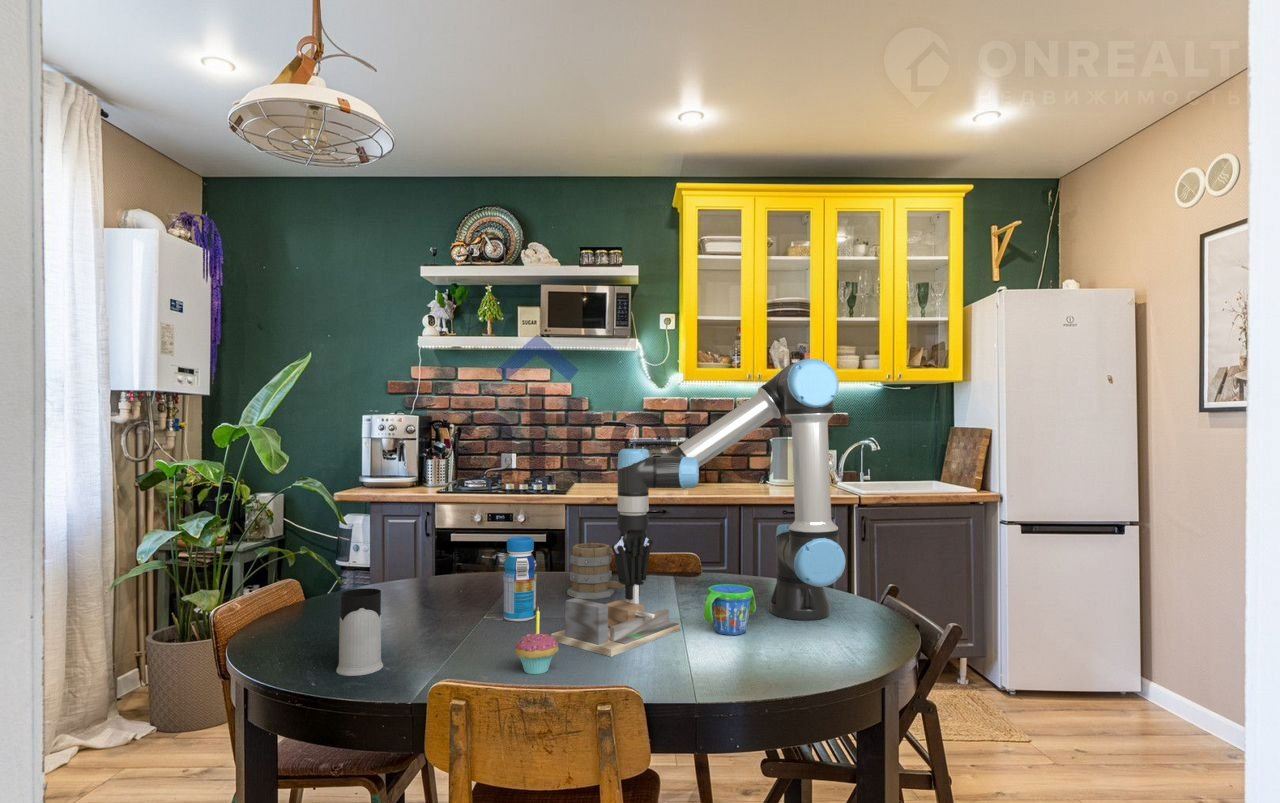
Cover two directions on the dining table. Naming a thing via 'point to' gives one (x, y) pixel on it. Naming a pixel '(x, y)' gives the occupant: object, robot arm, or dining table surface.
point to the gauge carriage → (625, 612)
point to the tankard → (592, 572)
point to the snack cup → (729, 608)
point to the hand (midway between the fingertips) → (632, 612)
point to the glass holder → (360, 632)
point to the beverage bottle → (520, 580)
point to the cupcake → (536, 650)
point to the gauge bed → (609, 628)
